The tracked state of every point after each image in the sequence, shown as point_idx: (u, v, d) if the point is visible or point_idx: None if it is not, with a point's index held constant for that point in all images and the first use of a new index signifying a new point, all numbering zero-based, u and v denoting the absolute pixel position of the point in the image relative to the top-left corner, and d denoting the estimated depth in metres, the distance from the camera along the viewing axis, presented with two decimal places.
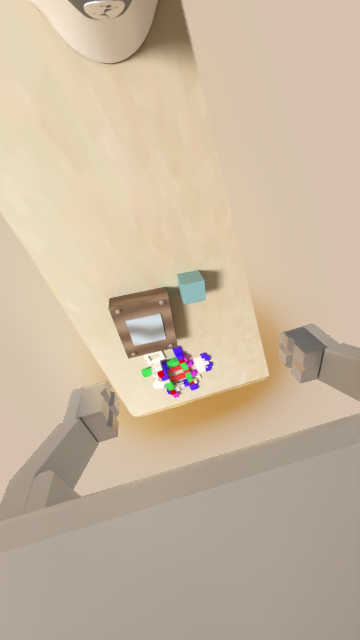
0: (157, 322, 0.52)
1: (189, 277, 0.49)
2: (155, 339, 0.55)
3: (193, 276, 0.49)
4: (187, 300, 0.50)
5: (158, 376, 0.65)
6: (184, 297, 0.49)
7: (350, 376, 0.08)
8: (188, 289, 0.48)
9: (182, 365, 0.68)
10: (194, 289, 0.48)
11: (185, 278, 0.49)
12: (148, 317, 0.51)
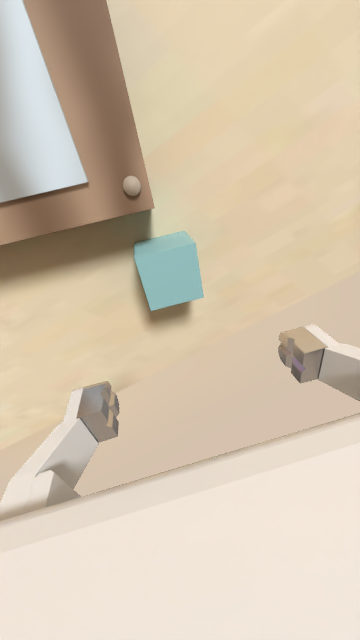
0: (45, 170, 0.14)
1: None
2: None
3: None
4: (147, 267, 0.18)
5: None
6: (157, 256, 0.18)
7: (350, 376, 0.08)
8: (181, 263, 0.19)
9: None
10: (180, 278, 0.19)
11: None
12: (62, 129, 0.14)
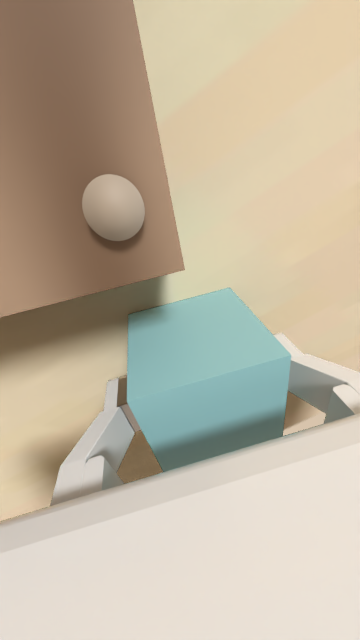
0: None
1: None
2: None
3: None
4: (161, 413, 0.07)
5: None
6: (189, 391, 0.07)
7: (313, 387, 0.08)
8: (247, 397, 0.07)
9: None
10: (240, 422, 0.08)
11: None
12: None
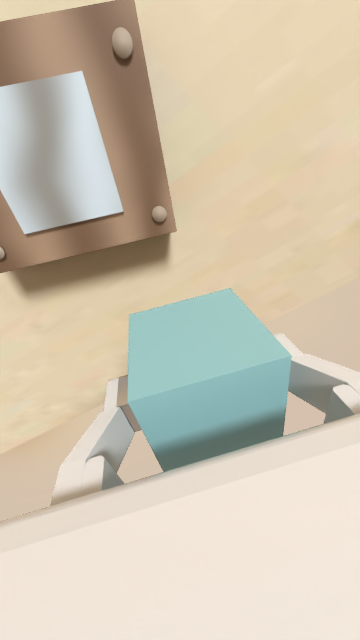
0: (89, 202, 0.18)
1: None
2: (13, 196, 0.16)
3: None
4: (162, 414, 0.07)
5: None
6: (189, 391, 0.07)
7: (313, 387, 0.08)
8: (247, 397, 0.07)
9: None
10: (240, 422, 0.08)
11: None
12: (106, 171, 0.17)
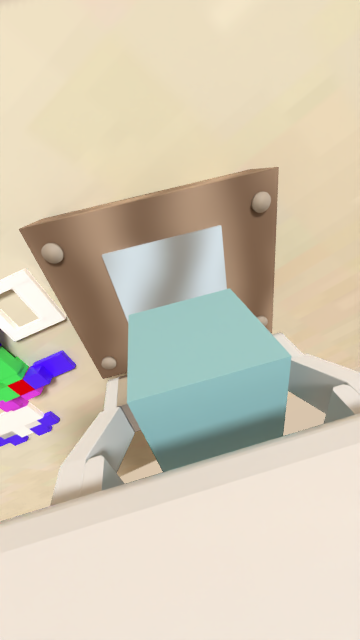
0: None
1: None
2: None
3: None
4: (161, 414, 0.07)
5: None
6: (189, 392, 0.07)
7: (313, 387, 0.08)
8: (247, 398, 0.07)
9: (2, 392, 0.22)
10: (240, 423, 0.08)
11: None
12: None
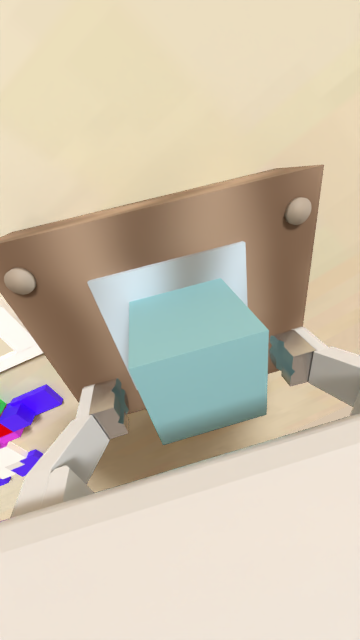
0: None
1: None
2: None
3: None
4: (158, 381, 0.08)
5: None
6: (181, 361, 0.08)
7: (339, 379, 0.08)
8: (232, 368, 0.09)
9: None
10: (227, 393, 0.09)
11: None
12: None
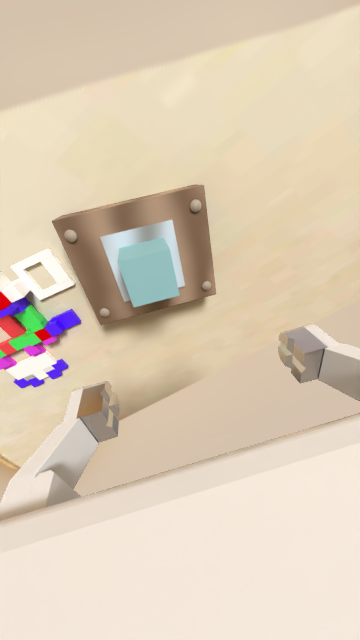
0: None
1: None
2: (122, 282, 0.27)
3: None
4: (129, 269, 0.21)
5: None
6: (137, 260, 0.21)
7: (350, 376, 0.08)
8: (158, 266, 0.22)
9: (29, 338, 0.31)
10: (158, 279, 0.22)
11: None
12: (178, 265, 0.27)
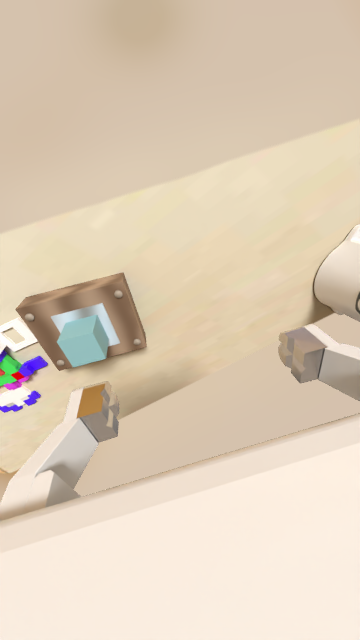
0: None
1: (101, 335, 0.34)
2: None
3: (103, 339, 0.35)
4: (65, 345, 0.32)
5: None
6: (70, 340, 0.31)
7: (350, 376, 0.08)
8: (86, 342, 0.32)
9: (7, 378, 0.42)
10: (88, 350, 0.33)
11: (98, 332, 0.34)
12: (112, 330, 0.37)
